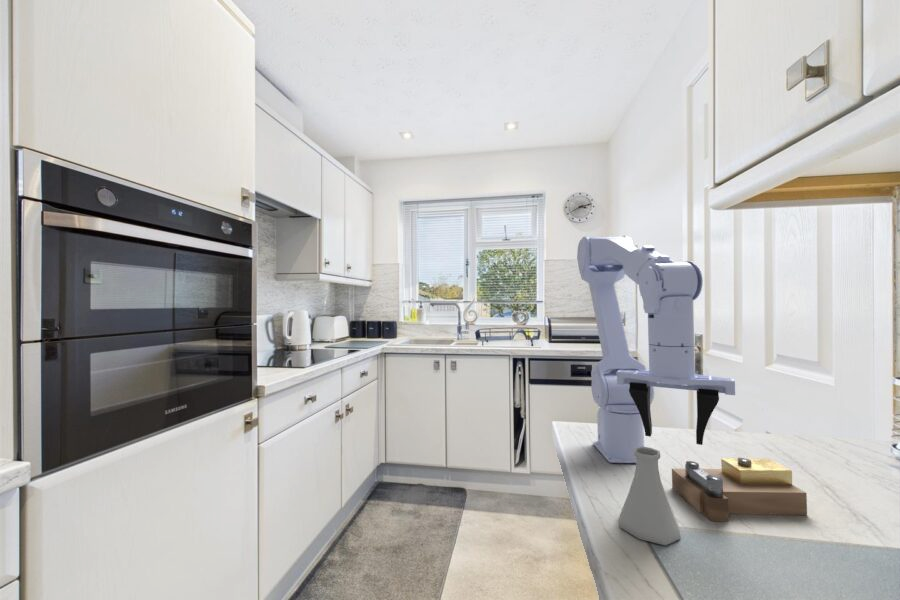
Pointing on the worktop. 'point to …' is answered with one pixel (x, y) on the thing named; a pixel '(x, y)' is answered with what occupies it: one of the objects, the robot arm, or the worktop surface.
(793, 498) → the body
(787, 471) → the lever cap
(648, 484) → the flask
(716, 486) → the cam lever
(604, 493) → the worktop surface
